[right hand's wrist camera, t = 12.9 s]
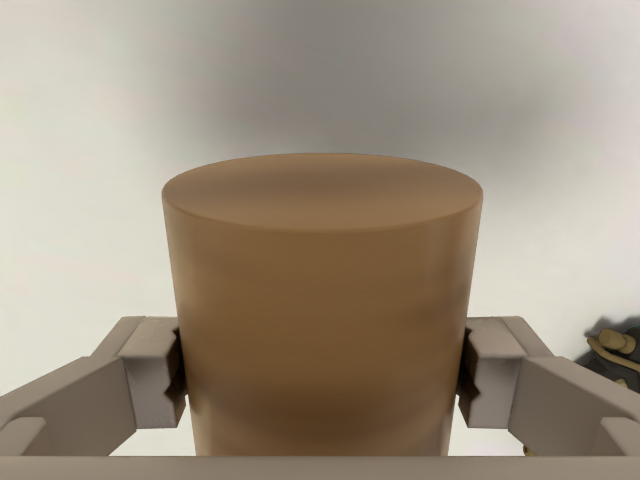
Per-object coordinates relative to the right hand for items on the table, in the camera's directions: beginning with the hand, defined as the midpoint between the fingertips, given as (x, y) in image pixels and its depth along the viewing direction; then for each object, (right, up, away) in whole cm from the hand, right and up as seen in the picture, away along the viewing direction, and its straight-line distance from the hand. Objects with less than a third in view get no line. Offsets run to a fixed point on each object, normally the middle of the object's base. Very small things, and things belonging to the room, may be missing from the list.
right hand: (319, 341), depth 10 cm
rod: (0, -6, +5) cm, 8 cm away
